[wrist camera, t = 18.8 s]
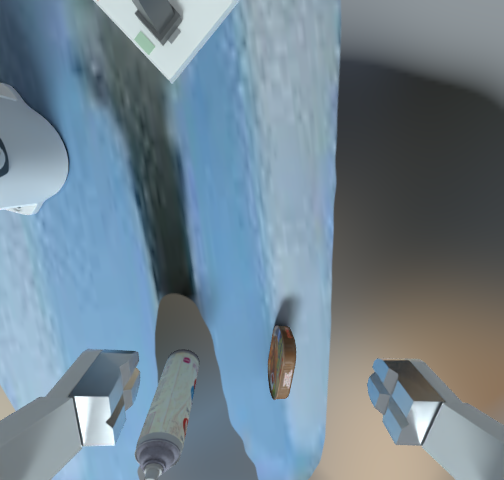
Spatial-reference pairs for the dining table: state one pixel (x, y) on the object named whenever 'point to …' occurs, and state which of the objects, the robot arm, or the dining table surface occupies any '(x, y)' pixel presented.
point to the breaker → (158, 18)
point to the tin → (281, 362)
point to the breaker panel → (184, 37)
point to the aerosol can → (168, 415)
